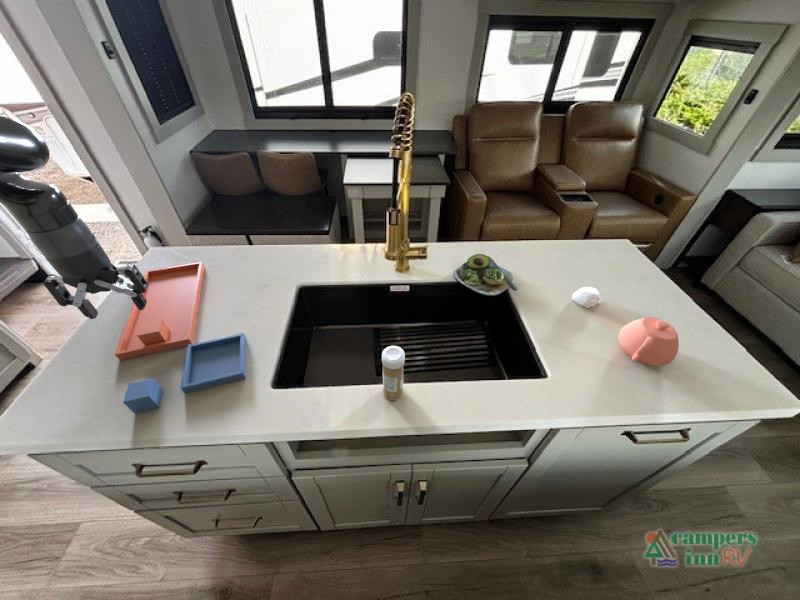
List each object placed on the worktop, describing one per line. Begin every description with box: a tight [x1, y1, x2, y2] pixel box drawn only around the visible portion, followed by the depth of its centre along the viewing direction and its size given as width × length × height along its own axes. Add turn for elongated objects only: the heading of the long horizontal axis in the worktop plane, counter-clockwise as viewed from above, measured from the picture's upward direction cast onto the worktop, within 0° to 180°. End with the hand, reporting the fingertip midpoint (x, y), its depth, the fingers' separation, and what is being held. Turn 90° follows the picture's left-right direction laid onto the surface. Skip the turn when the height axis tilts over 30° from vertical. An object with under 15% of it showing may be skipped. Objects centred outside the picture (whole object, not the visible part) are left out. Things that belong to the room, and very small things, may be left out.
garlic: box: [571, 286, 601, 309], centre depth 95 cm, size 8×7×4 cm
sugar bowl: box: [617, 316, 680, 367], centre depth 79 cm, size 12×14×10 cm
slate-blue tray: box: [180, 332, 247, 394], centre depth 76 cm, size 13×13×2 cm
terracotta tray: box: [114, 261, 206, 361], centre depth 89 cm, size 16×34×2 cm, turn 19°
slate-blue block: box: [122, 377, 164, 415], centre depth 67 cm, size 4×4×4 cm
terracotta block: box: [137, 319, 170, 346], centre depth 79 cm, size 4×4×4 cm
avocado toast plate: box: [453, 253, 519, 297], centre depth 101 cm, size 19×18×5 cm
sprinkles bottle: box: [381, 345, 406, 401], centre depth 68 cm, size 5×5×14 cm
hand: (119, 311), depth 68 cm, fingers open, 8 cm apart
